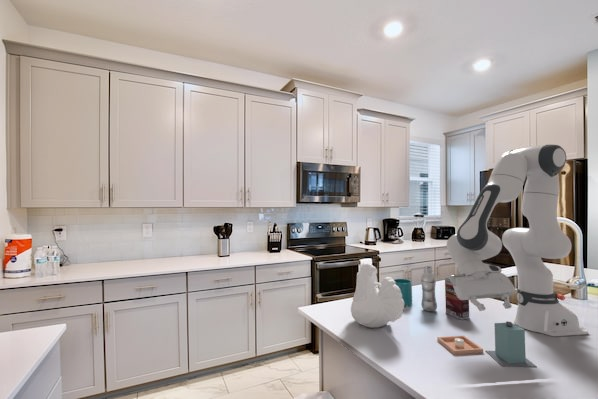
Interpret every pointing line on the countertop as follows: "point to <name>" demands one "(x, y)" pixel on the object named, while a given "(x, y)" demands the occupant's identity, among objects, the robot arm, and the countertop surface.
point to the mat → (504, 363)
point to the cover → (510, 342)
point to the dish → (458, 350)
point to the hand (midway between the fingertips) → (495, 308)
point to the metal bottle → (428, 290)
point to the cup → (405, 290)
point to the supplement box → (455, 302)
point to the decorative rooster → (375, 299)
